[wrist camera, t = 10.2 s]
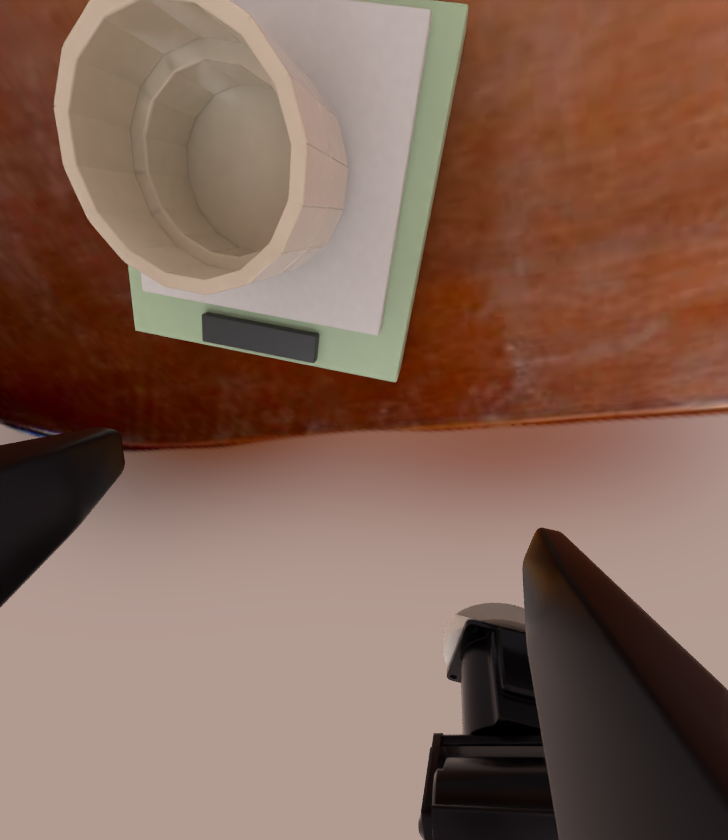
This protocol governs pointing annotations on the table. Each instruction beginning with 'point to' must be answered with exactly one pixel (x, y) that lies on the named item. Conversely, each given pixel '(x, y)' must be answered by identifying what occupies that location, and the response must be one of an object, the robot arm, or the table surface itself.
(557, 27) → the table surface
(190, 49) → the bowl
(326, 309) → the scale
